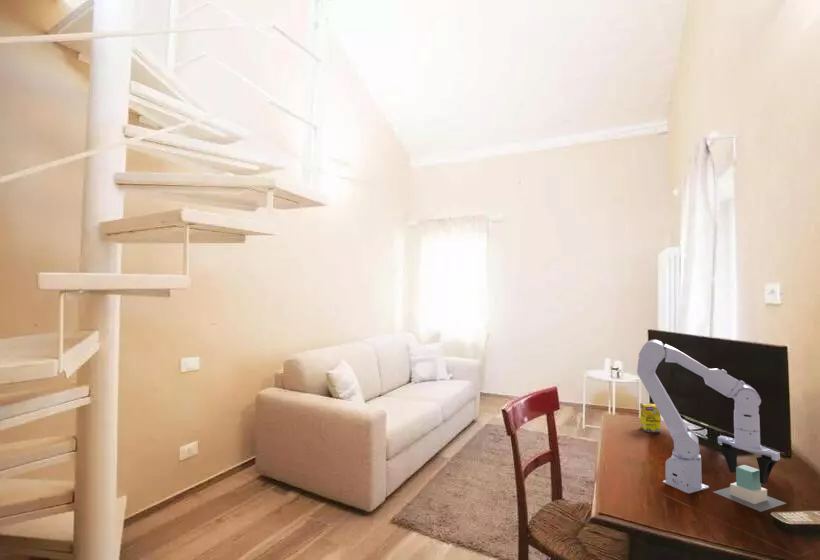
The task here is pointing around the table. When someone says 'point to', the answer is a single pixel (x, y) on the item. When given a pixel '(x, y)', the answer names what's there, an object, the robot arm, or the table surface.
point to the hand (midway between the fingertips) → (748, 477)
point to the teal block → (748, 477)
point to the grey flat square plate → (759, 506)
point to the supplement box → (649, 418)
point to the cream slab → (748, 493)
